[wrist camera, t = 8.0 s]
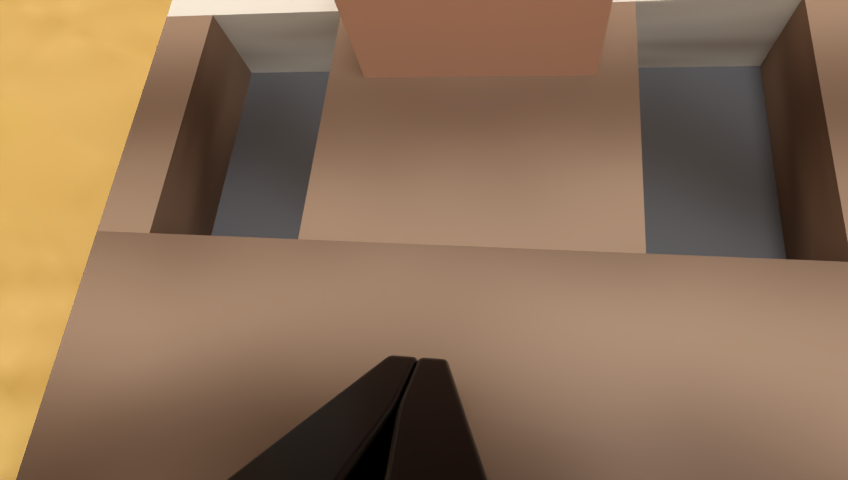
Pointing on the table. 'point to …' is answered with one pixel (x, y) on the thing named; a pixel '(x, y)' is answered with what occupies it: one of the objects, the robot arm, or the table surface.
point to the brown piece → (474, 249)
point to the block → (476, 37)
